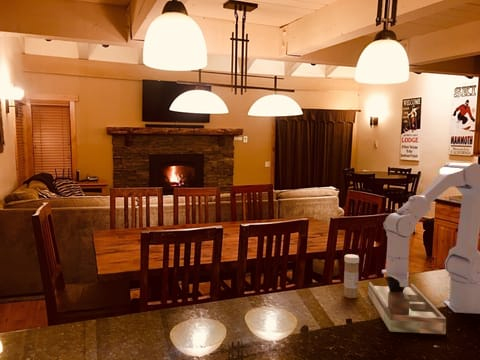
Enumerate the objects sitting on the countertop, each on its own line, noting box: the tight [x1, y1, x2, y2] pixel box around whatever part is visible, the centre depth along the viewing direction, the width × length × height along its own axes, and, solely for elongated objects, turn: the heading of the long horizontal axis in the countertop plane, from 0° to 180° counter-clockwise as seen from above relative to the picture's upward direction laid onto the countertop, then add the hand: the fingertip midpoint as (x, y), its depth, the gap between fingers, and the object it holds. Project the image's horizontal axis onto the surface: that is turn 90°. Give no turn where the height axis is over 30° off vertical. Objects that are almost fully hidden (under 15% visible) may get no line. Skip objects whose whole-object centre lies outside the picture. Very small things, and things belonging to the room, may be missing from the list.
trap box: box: [367, 281, 447, 335], centre depth 116 cm, size 14×26×4 cm, turn 174°
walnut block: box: [388, 292, 410, 315], centre depth 109 cm, size 4×4×4 cm
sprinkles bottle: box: [343, 253, 360, 299], centre depth 127 cm, size 5×5×13 cm
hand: (395, 302), depth 112 cm, fingers closed, pressing on walnut block
